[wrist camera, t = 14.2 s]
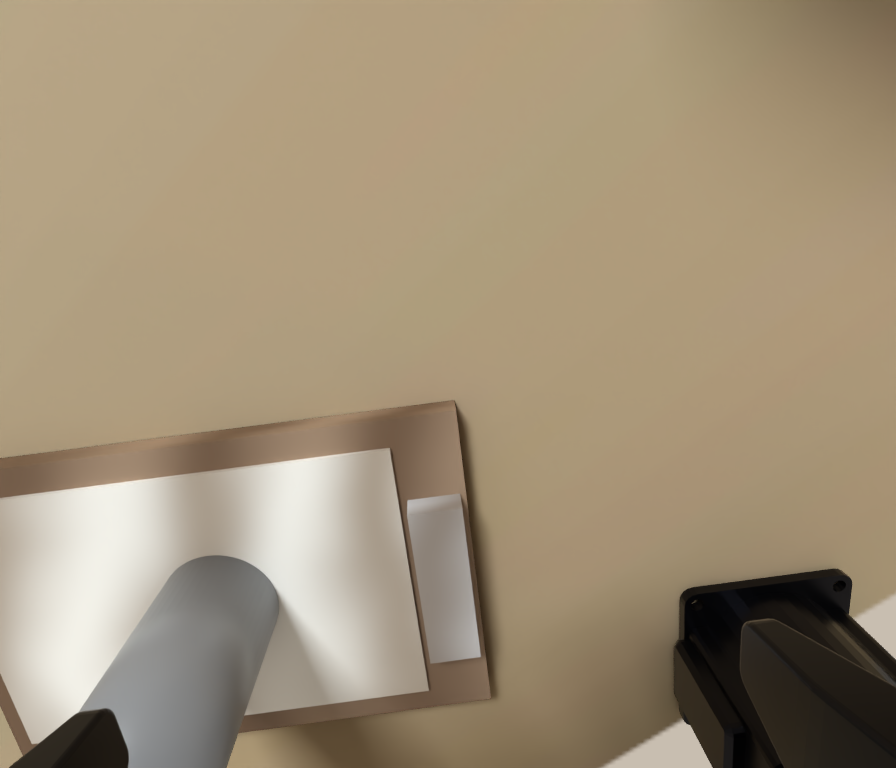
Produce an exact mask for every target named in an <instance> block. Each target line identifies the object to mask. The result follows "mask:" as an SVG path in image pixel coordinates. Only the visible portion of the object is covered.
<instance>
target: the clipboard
mask: <svg viewBox="0 0 896 768" xmlns="http://www.w3.org/2000/svg"><path fill="white" fill-rule="evenodd" d="M212 555H222V556H230V557H234V558H238V559H241V560H243V561H246V562H248V563H250V564H251V565H253V566H255V567H256V568H258V569H259V570H260V571H261V572H263V573H264V574H265V575H266V576H267V578H268V579H269V580H270V581H271V583H272V584H273V586H274V588H275V590H276V593H277V596H278V600H279V614H278V618H277V622H276V625H275V627H274V630H273V633H272V636H271V639H270V642H269V645H268V648H267V651H266V654H265V657H264V659H263V662H262V665H261V668H260V671H259V674H258V677H257V680H256V683H255V686H254V689H253V692H252V694H251V697H250V700H249V703H248V706H247V709H246V712H245V715H244V718H243V721H242V724H241V726H240V729H239V732H238V733H241V732H249V731H256V730H264V729H271V728H279V727H286V726H293V725H301V724H308V723H316V722H323V721H330V720H338V719H345V718H353V717H360V716H367V715H375V714H382V713H390V712H397V711H405V710H412V709H419V708H427V707H434V706H442V705H449V704H456V703H464V702H471V701H479V700H486V699H491V695H490V687H489V678H488V670H487V662H486V654H485V645H484V637H483V629H482V621H481V612H480V604H479V596H478V588H477V579H476V571H475V563H474V554H473V546H472V538H471V530H470V521H469V513H468V505H467V497H466V488H465V480H464V472H463V464H462V455H461V447H460V439H459V431H458V422H457V414H456V407H455V402H454V400H452V401H445V402H437V403H429V404H421V405H413V406H406V407H398V408H390V409H382V410H374V411H367V412H359V413H351V414H343V415H335V416H328V417H320V418H312V419H304V420H297V421H289V422H281V423H273V424H265V425H258V426H250V427H242V428H234V429H226V430H219V431H211V432H203V433H195V434H187V435H180V436H172V437H164V438H156V439H148V440H141V441H133V442H125V443H117V444H109V445H102V446H94V447H86V448H78V449H70V450H63V451H55V452H47V453H39V454H32V455H24V456H16V457H8V458H0V706H1V709H2V711H3V713H4V715H5V717H6V720H7V722H8V724H9V726H10V728H11V730H12V733H13V735H14V737H15V739H16V741H17V744H18V746H19V748H20V750H21V752H22V754H23V756H24V755H25V754H26V753H28V752H29V751H30V750H31V749H33V748H34V747H35V746H36V745H37V744H39V743H40V742H41V741H42V740H44V739H45V738H46V737H47V736H49V735H50V734H51V733H52V732H54V731H55V730H56V729H57V728H58V727H60V726H61V725H62V724H63V723H65V722H66V721H67V720H68V719H70V718H71V717H72V716H73V715H75V714H76V713H78V712H79V711H80V709H81V708H82V706H83V705H84V703H85V702H86V700H87V699H88V697H89V696H90V694H91V693H92V691H93V690H94V688H95V687H96V685H97V684H98V682H99V681H100V679H101V678H102V676H103V675H104V673H105V672H106V671H107V669H108V668H109V666H110V665H111V663H112V662H113V660H114V659H115V657H116V656H117V654H118V653H119V651H120V650H121V648H122V647H123V645H124V644H125V642H126V641H127V639H128V638H129V636H130V635H131V633H132V632H133V631H134V629H135V628H136V626H137V625H138V623H139V622H140V620H141V619H142V617H143V616H144V614H145V613H146V611H147V610H148V608H149V607H150V605H151V604H152V602H153V601H154V599H155V598H156V596H157V595H158V593H159V592H160V590H161V589H162V588H163V586H164V585H165V583H166V582H167V580H168V579H169V577H170V576H171V575H172V573H173V572H174V571H175V570H176V569H178V568H179V567H180V566H181V565H183V564H185V563H186V562H188V561H191V560H193V559H196V558H199V557H204V556H212Z"/></svg>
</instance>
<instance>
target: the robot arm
mask: <svg viewBox="0 0 896 768" xmlns="http://www.w3.org/2000/svg"><path fill="white" fill-rule="evenodd" d="M837 581H838V582H837ZM836 582H837V583H836ZM835 583H836V584H835ZM851 590H852V580H851V579H850V577H849V576H847V575H846V574H845V573H844V572H843V571H841V570H839V569H828V570H820V571H813V572H805V573H798V574H790V575H783V576H775V577H768V578H760V579H753V580H745V581H738V582H730V583H723V584H715V585H708V586H700V587H693V588H689V589H687V590H686V591H684V592H683V594H682V595H681V597H680V640H678V641H677V643H676V645H675V646H674V694H675V696H676V698H677V700H678V702H679V711H680V714H681V716H682V718H683V720H684V721H685V722H686V723H687V724H689V725H691V727H692V729H693V731H694V733H695V735H696V737H697V738H698V740H699V742H700V744H701V746H702V748H703V750H704V752H705V754H706V756H707V758H708V760H709V761H710V763H711V765H712V767H713V768H896V659H895V658H893V657H892V656H891V655H890V654H889V653H888V652H887V651H886V650H885V649H884V648H883V647H882V646H881V645H880V644H879V643H878V642H877V641H876V640H875V639H874V638H873V637H871V635H870V634H868V633H867V632H866V631H865V630H864V629H863V628H862V627H861V626H860V625H859V624H858V623H857V622H856V621H855V620H854V619H853V618H852V617H851V616H850V615H849V608H850V599H851ZM697 599H698V601H697V602H696V603H693V604H691V603H692V602H693V601H695V600H697ZM128 764H129V752H128V748H127V745H126V742H125V740H124V737H123V735H122V732H121V729H120V727H119V724H118V722H117V719H116V716H115V714H114V712H113V711H112V710H110V709H109V708H100V709H92V710H85V711H81V712H78V713H76V714H75V715H73V716H72V717H71V718H70V719H68V720H67V721H66V722H65V723H63V724H62V725H61V726H60V727H58V728H57V729H56V730H55V731H54V732H52V733H51V734H50V735H49V736H47V737H46V738H45V739H44V740H42V741H41V742H40V743H39V744H37V745H36V746H35V747H34V748H33V749H31V750H30V751H29V752H28V753H26V754H25V755H24V756H23V757H21V758H20V759H19V760H18V761H16V762H15V763H14V764H13V765H12V766H10V767H9V768H128Z"/></svg>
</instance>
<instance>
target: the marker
mask: <svg viewBox="0 0 896 768" xmlns="http://www.w3.org/2000/svg"><path fill="white" fill-rule="evenodd" d="M278 614H279V600H278V596H277V593H276V590H275V588H274V586H273V584H272V583H271V581H270V580H269V579H268V578H267V576H266V575H265V574H264V573H263V572H261V571H260V570H259V569H258V568H256V567H255V566H253V565H251V564H250V563H248V562H246V561H243V560H241V559H238V558H234V557H230V556H222V555H212V556H204V557H199V558H196V559H193V560H191V561H188V562H186V563H185V564H183V565H181V566H180V567H179V568H178V569H176V570H175V571H174V572H173V573H172V575H171V576H170V577H169V579H168V580H167V582H166V583H165V585H164V586H163V588H162V589H161V590H160V592H159V593H158V595H157V596H156V598H155V599H154V601H153V602H152V604H151V605H150V607H149V608H148V610H147V611H146V613H145V614H144V616H143V617H142V619H141V620H140V622H139V623H138V625H137V626H136V628H135V629H134V631H133V632H132V633H131V635H130V636H129V638H128V639H127V641H126V642H125V644H124V645H123V647H122V648H121V650H120V651H119V653H118V654H117V656H116V657H115V659H114V660H113V662H112V663H111V665H110V666H109V668H108V669H107V671H106V672H105V673H104V675H103V676H102V678H101V679H100V681H99V682H98V684H97V685H96V687H95V688H94V690H93V691H92V693H91V694H90V696H89V697H88V699H87V700H86V702H85V703H84V705H83V706H82V708H81V709H80V711H79V712H81V711H85V710H92V709H100V708H109V709H110V710H112V711H113V712H114V714H115V716H116V719H117V722H118V724H119V727H120V729H121V732H122V735H123V737H124V740H125V742H126V745H127V748H128V752H129V764H128V768H226V767H227V764H228V761H229V759H230V756H231V753H232V750H233V747H234V744H235V741H236V738H237V735H238V732H239V729H240V726H241V724H242V721H243V718H244V715H245V712H246V709H247V706H248V703H249V700H250V697H251V694H252V692H253V689H254V686H255V683H256V680H257V677H258V674H259V671H260V668H261V665H262V662H263V659H264V657H265V654H266V651H267V648H268V645H269V642H270V639H271V636H272V633H273V630H274V627H275V625H276V622H277V618H278Z"/></svg>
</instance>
